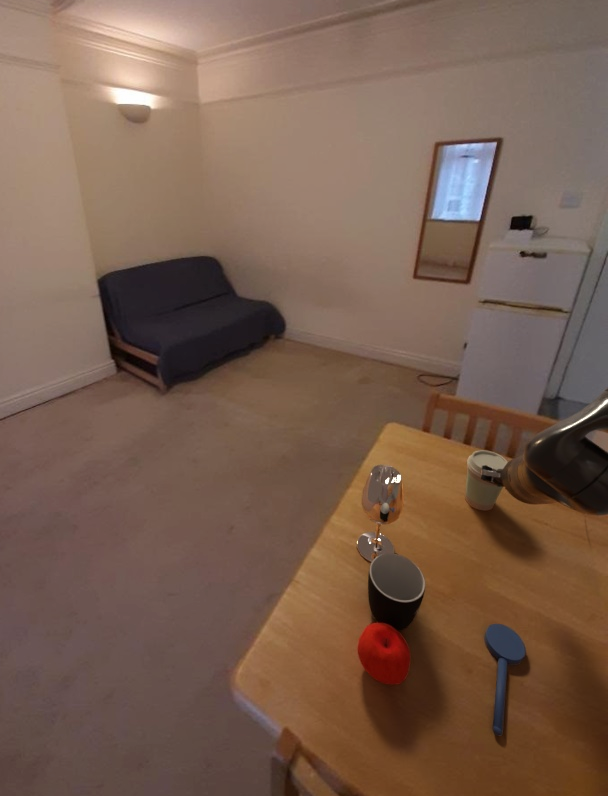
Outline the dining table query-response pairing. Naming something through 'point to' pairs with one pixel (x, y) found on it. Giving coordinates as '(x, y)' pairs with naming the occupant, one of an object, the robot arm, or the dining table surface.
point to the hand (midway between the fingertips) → (509, 484)
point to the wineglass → (380, 509)
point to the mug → (395, 590)
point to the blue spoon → (503, 664)
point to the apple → (384, 653)
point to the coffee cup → (478, 490)
